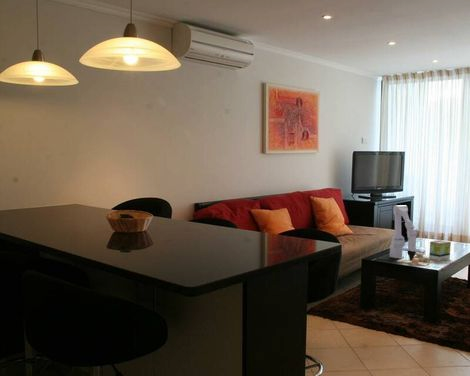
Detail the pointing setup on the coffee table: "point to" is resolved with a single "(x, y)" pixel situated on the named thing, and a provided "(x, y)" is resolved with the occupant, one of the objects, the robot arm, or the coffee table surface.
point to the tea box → (439, 250)
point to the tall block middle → (420, 257)
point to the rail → (412, 263)
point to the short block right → (426, 260)
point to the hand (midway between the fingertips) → (411, 260)
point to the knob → (415, 260)
